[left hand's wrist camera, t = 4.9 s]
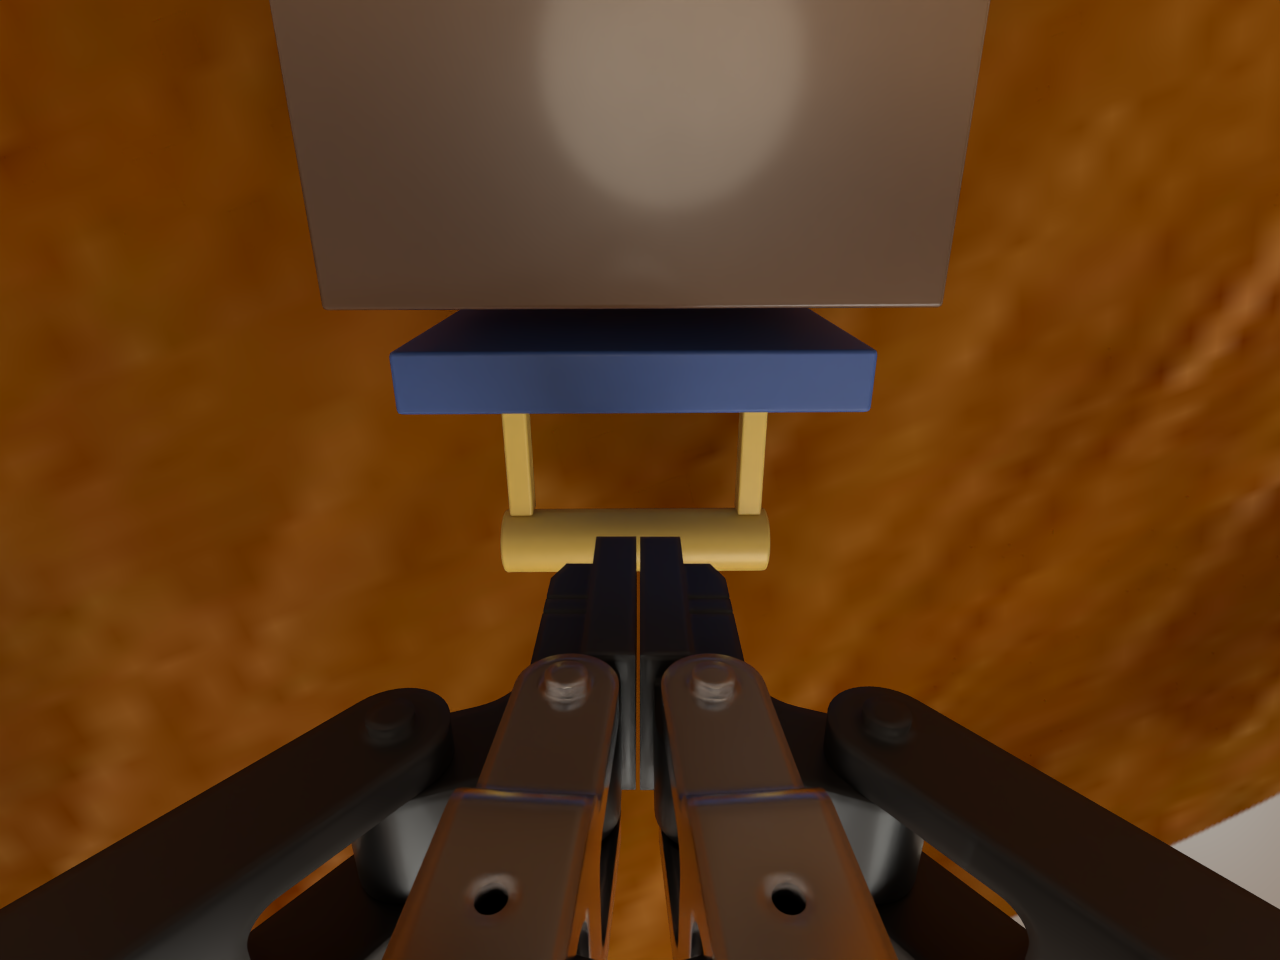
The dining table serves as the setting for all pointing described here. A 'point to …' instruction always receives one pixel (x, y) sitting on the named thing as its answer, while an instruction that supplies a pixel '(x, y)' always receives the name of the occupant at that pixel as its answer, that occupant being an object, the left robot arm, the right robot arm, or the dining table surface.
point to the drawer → (633, 405)
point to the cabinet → (630, 150)
